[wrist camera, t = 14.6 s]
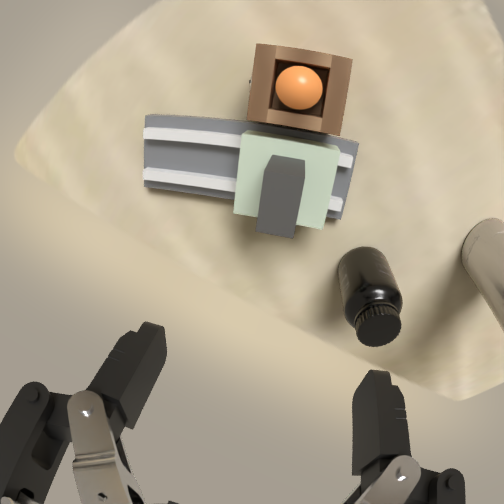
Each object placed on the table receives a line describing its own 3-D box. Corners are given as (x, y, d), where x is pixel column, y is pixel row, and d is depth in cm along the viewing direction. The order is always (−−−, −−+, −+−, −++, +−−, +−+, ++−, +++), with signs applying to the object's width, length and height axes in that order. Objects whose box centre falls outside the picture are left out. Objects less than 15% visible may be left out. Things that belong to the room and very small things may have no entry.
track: (356, 141, 30) (360, 145, 28) (339, 214, 35) (341, 224, 32) (151, 114, 32) (140, 116, 30) (149, 183, 37) (139, 189, 34)
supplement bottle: (360, 296, 40) (371, 362, 30) (326, 268, 39) (331, 334, 28) (397, 265, 37) (422, 328, 26) (365, 234, 35) (384, 293, 25)
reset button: (322, 73, 24) (325, 70, 20) (316, 110, 26) (318, 113, 22) (282, 67, 24) (278, 62, 21) (276, 104, 26) (272, 105, 23)
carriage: (337, 145, 28) (349, 166, 20) (321, 217, 32) (325, 261, 24) (247, 130, 28) (225, 144, 21) (239, 202, 33) (217, 241, 25)
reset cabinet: (341, 67, 26) (352, 59, 20) (331, 127, 30) (339, 135, 23) (261, 53, 27) (249, 42, 20) (254, 113, 30) (240, 119, 24)
